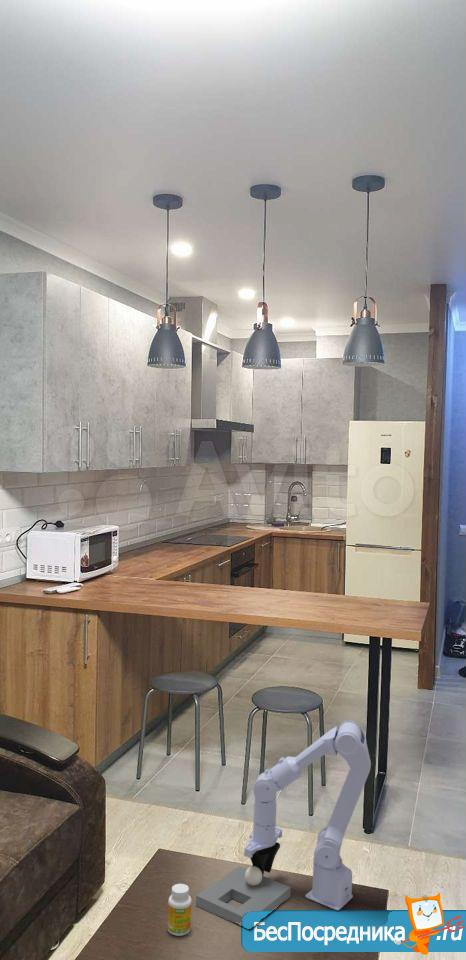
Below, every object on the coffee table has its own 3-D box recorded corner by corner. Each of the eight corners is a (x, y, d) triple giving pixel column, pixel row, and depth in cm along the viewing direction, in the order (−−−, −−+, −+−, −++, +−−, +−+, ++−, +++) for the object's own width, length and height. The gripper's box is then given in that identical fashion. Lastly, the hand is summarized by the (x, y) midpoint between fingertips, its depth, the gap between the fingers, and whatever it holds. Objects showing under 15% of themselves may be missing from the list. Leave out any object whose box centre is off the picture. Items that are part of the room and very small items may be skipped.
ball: (266, 881, 196) (265, 865, 196) (256, 891, 193) (255, 875, 192) (252, 876, 199) (250, 860, 198) (242, 886, 196) (240, 870, 195)
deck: (290, 897, 195) (290, 887, 195) (249, 930, 180) (249, 920, 180) (238, 875, 204) (238, 866, 204) (195, 905, 190) (196, 895, 190)
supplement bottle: (172, 938, 176) (174, 896, 176) (163, 926, 181) (165, 884, 181) (194, 933, 179) (195, 891, 179) (184, 920, 184) (186, 879, 183)
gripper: (267, 807, 207) (265, 857, 207) (235, 826, 195) (233, 879, 196) (289, 815, 203) (287, 866, 203) (258, 835, 191) (256, 890, 192)
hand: (262, 873), depth 199 cm, fingers open, 3 cm apart
